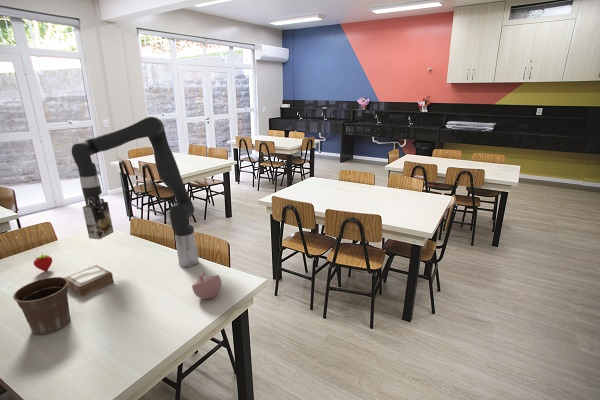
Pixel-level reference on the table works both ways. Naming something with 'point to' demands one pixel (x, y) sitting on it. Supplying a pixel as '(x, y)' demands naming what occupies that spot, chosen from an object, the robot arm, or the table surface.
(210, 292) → the pink apple
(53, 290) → the plant pot
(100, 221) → the coffee box
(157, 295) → the table surface
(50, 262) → the strawberry
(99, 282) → the plinth
